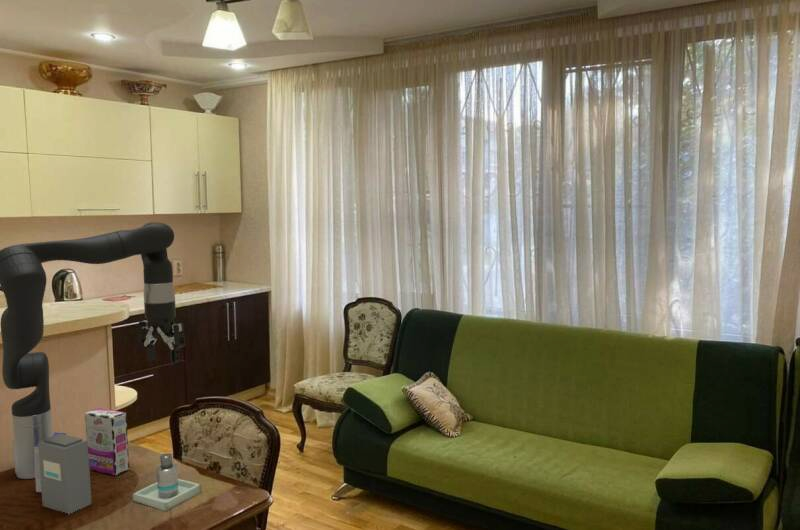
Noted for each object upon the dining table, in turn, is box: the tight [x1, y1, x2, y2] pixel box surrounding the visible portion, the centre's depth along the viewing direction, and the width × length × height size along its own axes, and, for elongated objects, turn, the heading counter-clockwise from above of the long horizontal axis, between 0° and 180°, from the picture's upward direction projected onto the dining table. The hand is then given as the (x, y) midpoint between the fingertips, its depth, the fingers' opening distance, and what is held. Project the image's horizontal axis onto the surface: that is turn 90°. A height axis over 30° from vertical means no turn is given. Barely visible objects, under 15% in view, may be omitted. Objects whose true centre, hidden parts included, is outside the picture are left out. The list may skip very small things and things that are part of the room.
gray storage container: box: [38, 434, 92, 515], centre depth 158 cm, size 10×6×17 cm, turn 62°
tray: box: [132, 478, 202, 512], centre depth 162 cm, size 11×11×2 cm
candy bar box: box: [84, 408, 130, 477], centre depth 179 cm, size 11×5×16 cm, turn 64°
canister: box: [156, 452, 179, 499], centre depth 161 cm, size 5×5×10 cm
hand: (162, 361), depth 168 cm, fingers open, 8 cm apart
